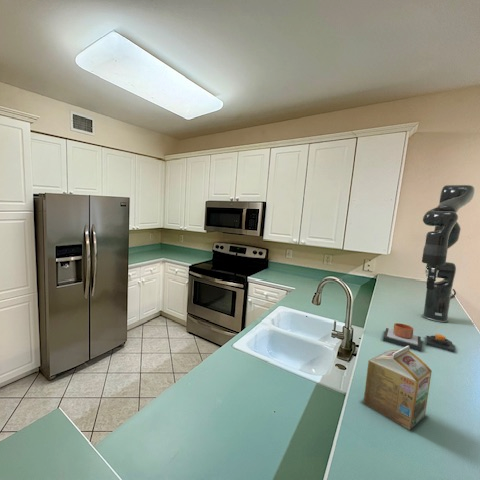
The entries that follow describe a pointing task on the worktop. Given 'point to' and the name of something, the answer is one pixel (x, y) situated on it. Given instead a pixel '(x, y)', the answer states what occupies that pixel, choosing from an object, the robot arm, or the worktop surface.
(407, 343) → the scale
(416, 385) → the milk carton
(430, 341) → the block
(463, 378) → the worktop surface
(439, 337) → the tare button
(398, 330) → the copper cup
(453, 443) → the worktop surface
